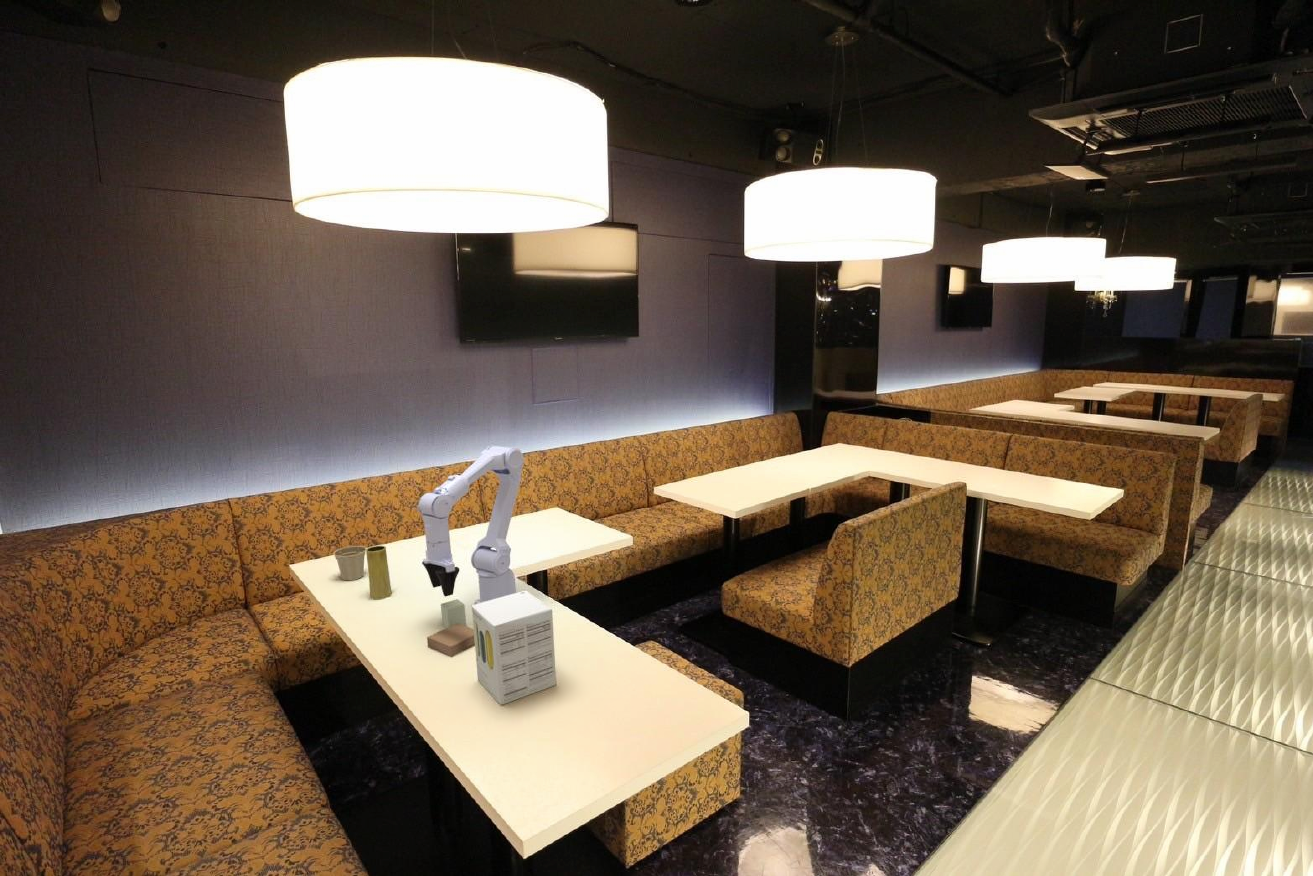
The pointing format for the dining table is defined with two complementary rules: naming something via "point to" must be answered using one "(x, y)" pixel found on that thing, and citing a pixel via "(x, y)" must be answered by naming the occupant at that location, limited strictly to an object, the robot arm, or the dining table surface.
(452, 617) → the sage block
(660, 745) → the dining table surface
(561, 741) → the dining table surface
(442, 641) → the walnut slab
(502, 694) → the supplement box
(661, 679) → the dining table surface
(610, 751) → the dining table surface
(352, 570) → the flower pot
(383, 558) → the vase
